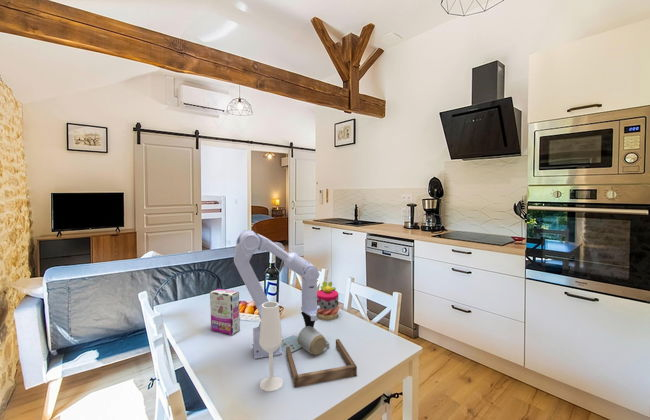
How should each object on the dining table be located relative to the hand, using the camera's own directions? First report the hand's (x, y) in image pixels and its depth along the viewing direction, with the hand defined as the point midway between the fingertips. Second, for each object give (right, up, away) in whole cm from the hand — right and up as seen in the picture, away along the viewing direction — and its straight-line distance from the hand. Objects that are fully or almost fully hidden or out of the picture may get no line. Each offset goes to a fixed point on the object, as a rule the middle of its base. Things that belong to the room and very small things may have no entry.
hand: (309, 331), depth 108 cm
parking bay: (+4, -5, -13) cm, 14 cm away
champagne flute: (-10, -6, -23) cm, 25 cm away
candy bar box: (-35, -4, +10) cm, 37 cm away
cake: (+7, -3, +24) cm, 25 cm away
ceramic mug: (+2, -5, -4) cm, 7 cm away
